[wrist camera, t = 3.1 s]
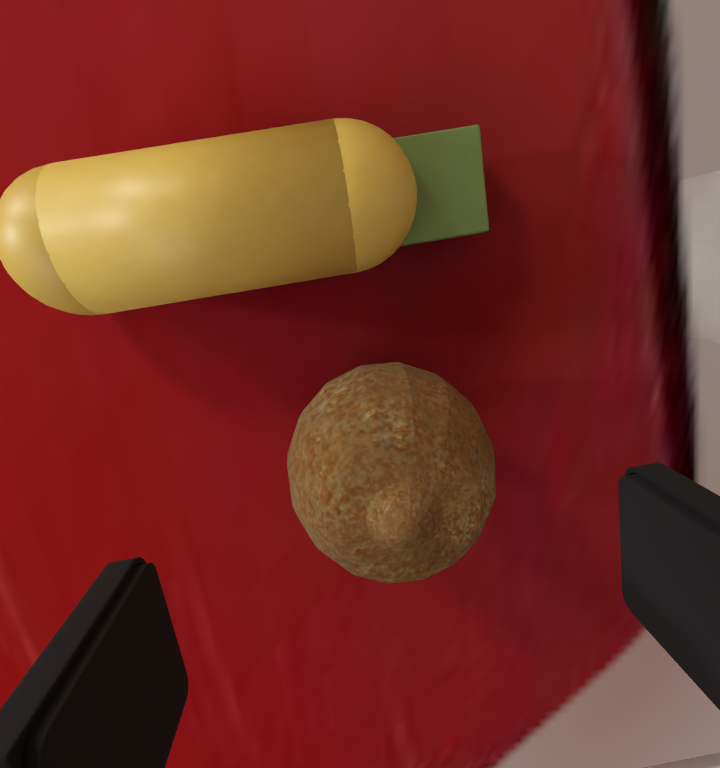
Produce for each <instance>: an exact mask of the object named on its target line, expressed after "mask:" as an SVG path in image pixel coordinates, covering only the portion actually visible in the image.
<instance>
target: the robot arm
mask: <svg viewBox="0 0 720 768" xmlns="http://www.w3.org/2000/svg"><path fill="white" fill-rule="evenodd" d="M618 486H619V514H620V541H621V569H622V592H623V597H624V600H625V603H626V605H627V607H628V608H629V610H630V611H631V613H632V614H633V615H634V616H635V617H636V618H637V619H638V620H639V621H640V623H641V624H642V625H643V626H644V627H645V628H646V629H647V630H648V631H649V633H650V634H651V635H652V636H653V637H654V638H655V639H656V640H657V641H658V642H659V644H660V645H661V646H662V647H663V648H664V649H665V650H666V651H667V652H668V654H669V655H670V656H671V657H672V658H673V659H674V660H675V661H676V662H677V663H678V665H679V666H680V667H681V668H682V669H683V670H684V671H685V672H686V673H687V674H688V676H689V677H690V678H691V679H692V680H693V681H694V682H695V683H696V684H697V686H698V687H699V688H700V689H701V690H702V691H703V692H704V693H705V694H706V695H707V697H708V698H709V699H710V700H711V701H712V702H713V703H714V704H715V706H716V707H717V708H718V709H719V710H720V496H718V495H717V494H715V493H713V492H711V491H710V490H708V489H706V488H704V487H703V486H701V485H699V484H697V483H695V482H694V481H692V480H690V479H688V478H687V477H685V476H683V475H681V474H680V473H678V472H676V471H674V470H673V469H671V468H669V467H667V466H666V465H664V464H661V463H659V462H658V463H652V464H646V465H641V466H635V467H630V468H628V469H627V470H626V473H625V476H622V477H621V478H620V479H619V485H618ZM187 695H188V676H187V672H186V669H185V666H184V662H183V659H182V655H181V652H180V649H179V645H178V642H177V638H176V635H175V632H174V628H173V625H172V621H171V618H170V615H169V611H168V608H167V604H166V601H165V598H164V594H163V591H162V587H161V584H160V581H159V577H158V574H157V570H156V568H155V566H154V565H153V564H152V563H147V564H146V562H145V561H144V559H143V558H141V557H138V558H133V559H127V560H122V561H116V562H111V563H109V564H108V565H106V567H105V568H104V569H103V571H102V572H101V573H100V575H99V576H98V577H97V579H96V580H95V582H94V583H93V584H92V586H91V587H90V588H89V590H88V591H87V592H86V594H85V595H84V596H83V598H82V599H81V601H80V602H79V603H78V605H77V606H76V607H75V609H74V610H73V611H72V613H71V614H70V615H69V617H68V618H67V620H66V621H65V622H64V624H63V625H62V626H61V628H60V629H59V630H58V632H57V633H56V634H55V636H54V637H53V639H52V640H51V641H50V643H49V644H48V645H47V647H46V648H45V649H44V651H43V652H42V653H41V655H40V656H39V658H38V659H37V660H36V662H35V663H34V664H33V666H32V667H31V668H30V670H29V671H28V672H27V674H26V675H25V677H24V678H23V679H22V681H21V682H20V683H19V685H18V686H17V687H16V689H15V690H14V691H13V693H12V694H11V696H10V697H9V698H8V700H7V701H6V702H5V704H4V705H3V706H2V708H1V709H0V768H165V765H166V762H167V759H168V756H169V752H170V749H171V746H172V743H173V740H174V737H175V734H176V731H177V727H178V724H179V721H180V718H181V715H182V712H183V709H184V705H185V702H186V699H187ZM645 768H720V753H716V754H711V755H706V756H701V757H696V758H691V759H686V760H681V761H675V762H670V763H666V764H660V765H656V766H651V767H645Z"/></svg>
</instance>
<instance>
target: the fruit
mask: <svg viewBox="0 0 720 768" xmlns="http://www.w3.org/2000/svg"><path fill="white" fill-rule="evenodd" d="M287 468H288V476H289V484H290V492H291V500H292V505H293V507H294V510H295V512H296V514H297V516H298V518H299V519H300V521H301V523H302V524H303V526H304V528H305V529H306V531H307V533H308V534H309V536H310V538H311V539H312V541H313V542H314V544H315V546H316V547H317V548H318V549H319V550H320V551H322V552H323V553H324V554H325V555H327V556H328V557H330V558H331V559H332V560H334V561H335V562H337V563H338V564H339V565H341V566H342V567H344V568H345V569H346V570H348V571H349V572H351V573H352V574H353V575H356V576H360V577H364V578H368V579H372V580H376V581H380V582H384V583H397V582H406V581H416V580H423V579H425V578H427V577H429V576H431V575H434V574H436V573H438V572H440V571H442V570H444V569H446V568H448V567H450V566H452V565H454V564H455V563H456V562H457V561H458V560H459V559H460V558H461V557H462V556H463V555H464V554H465V553H466V552H467V551H468V550H469V549H470V548H471V547H472V546H473V545H474V544H475V542H476V541H477V540H478V539H479V537H480V534H481V532H482V529H483V527H484V524H485V522H486V520H487V517H488V515H489V512H490V510H491V507H492V505H493V502H494V499H495V497H496V493H495V457H494V449H493V445H492V443H491V441H490V439H489V437H488V434H487V432H486V430H485V428H484V426H483V424H482V422H481V420H480V418H479V416H478V413H477V411H476V410H475V408H474V407H473V405H472V404H471V402H470V401H469V400H468V399H466V398H465V397H464V396H463V395H462V394H461V393H459V392H458V391H457V390H456V389H455V388H454V387H452V386H451V385H450V384H449V383H448V382H446V381H445V380H444V379H443V378H442V377H440V376H438V375H437V374H435V373H432V372H429V371H426V370H423V369H419V368H416V367H413V366H410V365H406V364H403V363H400V362H392V363H382V364H371V365H360V366H358V367H356V368H354V369H352V370H351V371H349V372H347V373H345V374H343V375H341V376H339V377H337V378H335V379H333V380H331V381H329V382H327V383H326V384H325V385H324V387H323V388H322V389H321V390H320V391H319V392H318V394H317V395H316V396H315V397H314V398H313V400H312V401H311V402H310V403H309V404H308V405H307V407H306V408H305V409H304V410H303V411H302V413H301V415H300V417H299V419H298V422H297V425H296V428H295V432H294V435H293V438H292V442H291V445H290V448H289V451H288V455H287Z"/></svg>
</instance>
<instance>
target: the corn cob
mask: <svg viewBox="0 0 720 768" xmlns="http://www.w3.org/2000/svg"><path fill="white" fill-rule="evenodd" d="M487 231H489V222H488V211H487V200H486V189H485V179H484V168H483V157H482V146H481V135H480V126H479V125H472V126H466V127H460V128H453V129H447V130H441V131H435V132H428V133H422V134H416V135H410V136H403V137H397V138H392V137H391V136H390V135H389V134H387V133H386V132H384V131H383V130H382V129H380V128H379V127H377V126H375V125H372V124H370V123H367V122H365V121H362V120H356V119H351V118H337V119H326V120H320V121H314V122H307V123H301V124H295V125H288V126H282V127H276V128H270V129H263V130H257V131H251V132H244V133H238V134H232V135H226V136H219V137H213V138H207V139H200V140H194V141H188V142H181V143H175V144H169V145H163V146H156V147H150V148H144V149H137V150H131V151H125V152H118V153H112V154H106V155H100V156H93V157H87V158H81V159H74V160H68V161H62V162H56V163H51V164H48V165H44V166H40V167H37V168H33V169H31V170H30V171H28V172H26V173H24V174H23V175H21V176H19V177H18V178H17V179H16V180H15V181H14V182H13V183H12V184H11V185H10V186H9V187H8V188H7V189H6V190H5V192H4V193H3V195H2V197H1V199H0V260H1V262H2V263H3V265H4V267H5V269H6V270H7V272H8V273H9V275H10V276H11V277H12V278H13V279H14V281H15V282H16V283H17V284H18V285H19V286H20V287H21V288H22V289H23V290H25V291H26V292H27V293H28V294H29V295H31V296H32V297H34V298H35V299H37V300H39V301H41V302H42V303H44V304H46V305H47V306H50V307H53V308H56V309H59V310H62V311H65V312H68V313H73V314H81V315H97V314H108V313H114V312H120V311H126V310H132V309H138V308H144V307H150V306H156V305H163V304H169V303H175V302H181V301H187V300H193V299H199V298H205V297H211V296H217V295H223V294H229V293H235V292H242V291H248V290H254V289H260V288H266V287H272V286H278V285H284V284H290V283H296V282H302V281H308V280H314V279H321V278H327V277H333V276H339V275H345V274H351V273H357V272H360V271H364V270H368V269H371V268H373V267H375V266H377V265H379V264H381V263H382V262H384V261H385V260H386V259H387V258H389V257H390V256H391V255H393V253H394V252H395V251H396V250H397V249H398V248H399V247H401V246H407V245H413V244H420V243H426V242H432V241H438V240H444V239H450V238H456V237H462V236H468V235H474V234H480V233H484V232H487Z"/></svg>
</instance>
